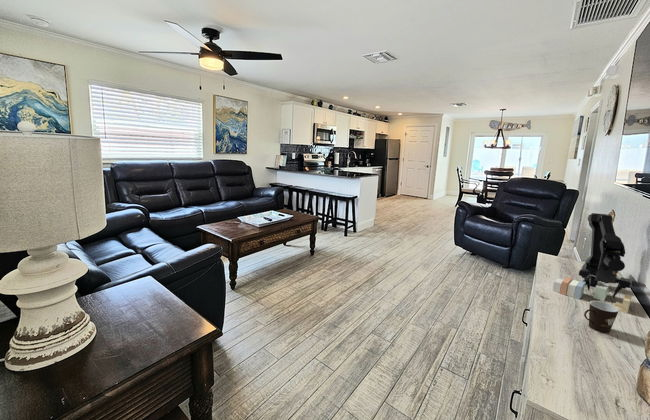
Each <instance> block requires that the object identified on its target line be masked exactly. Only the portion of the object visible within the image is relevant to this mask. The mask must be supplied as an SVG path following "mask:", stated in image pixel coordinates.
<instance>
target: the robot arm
mask: <svg viewBox="0 0 650 420" xmlns="http://www.w3.org/2000/svg"><path fill="white" fill-rule="evenodd" d="M587 221H588V225H589V227H590V229H591V240H590V241H591V242H590V255H589V257H587V258H586V260H585V262H584V263H583V265H581V266H582V267H581V269H579V271H578V276H580V277H581V278H582V279H583V280H582V281H584V282H586V283H585V286H586V287H587V288H586V289H587V291H590V290H591V287H596V285H597V284H598V282H602V283H606V284H610V283H617V285H616V288H615V289H614V293H613V295H612V298H615V297H616V296H617V295H618V293H619V292H620V291H621V290H622V289H624V290H625V289H631V286H632V283H633V281H632V279H629V278H625V277H622V276H621V277H620V278H617V274H615V273H614V271H618V272H621V271H624V269H625V268H626V264H625V262H624V261H623V260H622V259H621V258H622V257H623V258H625V255H626V249H625V245H624V242H623V241H622V239H621V237H619V236H618V235H616V231H615V228H614V225H613V216H612V215H609V214H607V213H597V212H595V213H594V212H592V213H591V214H588V217H587ZM612 251H614V252H612ZM619 251H620V253H619ZM609 281H611V282H609Z"/></svg>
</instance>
